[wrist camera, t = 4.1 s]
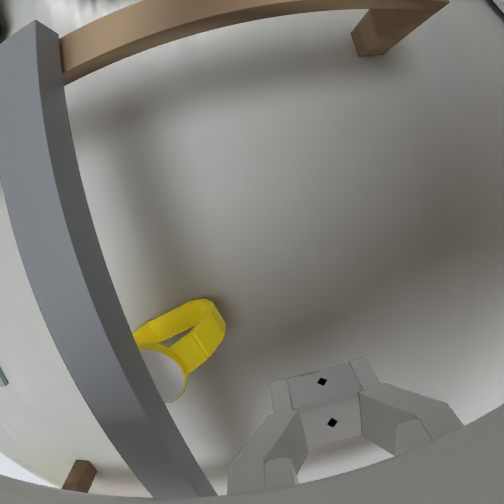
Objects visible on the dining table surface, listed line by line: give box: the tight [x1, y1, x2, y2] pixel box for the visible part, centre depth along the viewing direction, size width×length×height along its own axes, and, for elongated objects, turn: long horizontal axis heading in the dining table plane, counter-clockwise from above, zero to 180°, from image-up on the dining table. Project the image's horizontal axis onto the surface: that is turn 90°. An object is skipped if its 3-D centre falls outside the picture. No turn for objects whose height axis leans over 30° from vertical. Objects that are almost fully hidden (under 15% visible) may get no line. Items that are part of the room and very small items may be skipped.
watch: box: [132, 299, 226, 403], centre depth 15 cm, size 6×3×6 cm, turn 117°
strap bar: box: [0, 20, 218, 498], centre depth 10 cm, size 2×26×2 cm, turn 14°
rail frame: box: [59, 0, 450, 493], centre depth 14 cm, size 30×26×7 cm
